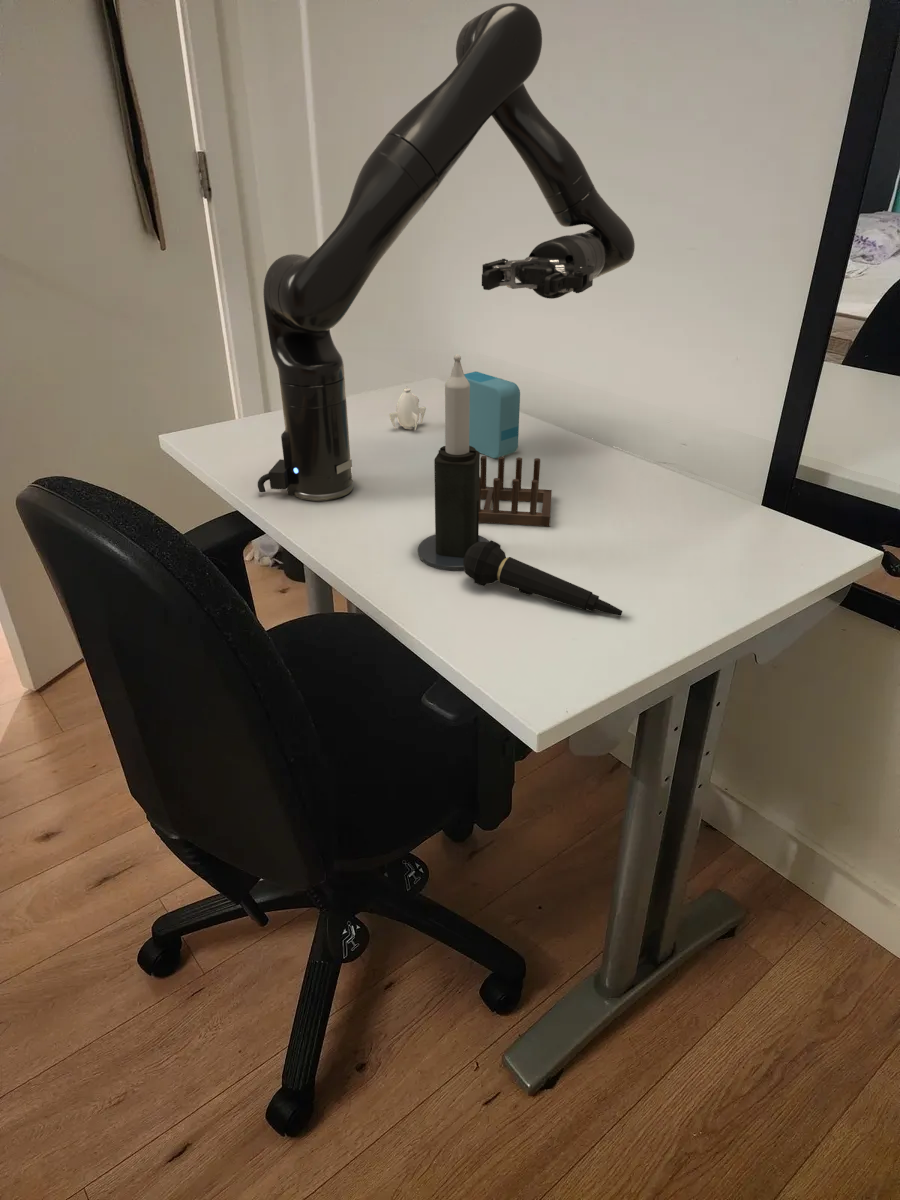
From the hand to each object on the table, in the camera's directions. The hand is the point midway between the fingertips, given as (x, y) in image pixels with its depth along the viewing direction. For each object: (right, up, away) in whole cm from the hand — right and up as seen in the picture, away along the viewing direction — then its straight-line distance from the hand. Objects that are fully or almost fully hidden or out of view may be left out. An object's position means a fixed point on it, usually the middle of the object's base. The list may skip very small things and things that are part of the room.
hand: (515, 284), depth 101 cm
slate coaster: (-8, -34, +4) cm, 35 cm away
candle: (-7, -33, +3) cm, 34 cm away
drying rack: (-1, -27, +15) cm, 31 cm away
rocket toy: (-16, -9, +46) cm, 50 cm away
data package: (-2, -14, +37) cm, 39 cm away
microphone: (+2, -40, -7) cm, 41 cm away
